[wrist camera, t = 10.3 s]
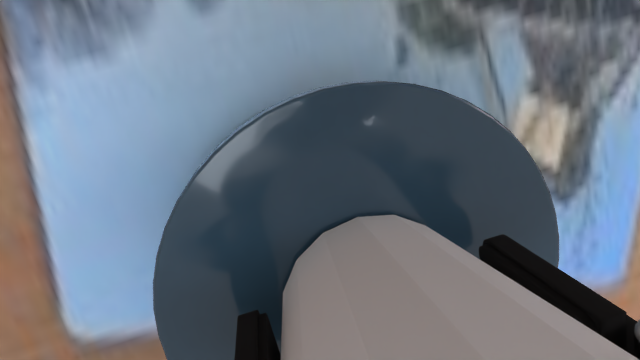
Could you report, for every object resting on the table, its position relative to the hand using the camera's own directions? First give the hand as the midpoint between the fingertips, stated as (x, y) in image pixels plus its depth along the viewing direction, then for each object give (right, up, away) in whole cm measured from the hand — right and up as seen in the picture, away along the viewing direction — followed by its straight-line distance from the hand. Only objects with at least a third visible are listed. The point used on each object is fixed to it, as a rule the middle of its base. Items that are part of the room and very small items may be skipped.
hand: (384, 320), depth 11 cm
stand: (-1, +2, +7) cm, 8 cm away
